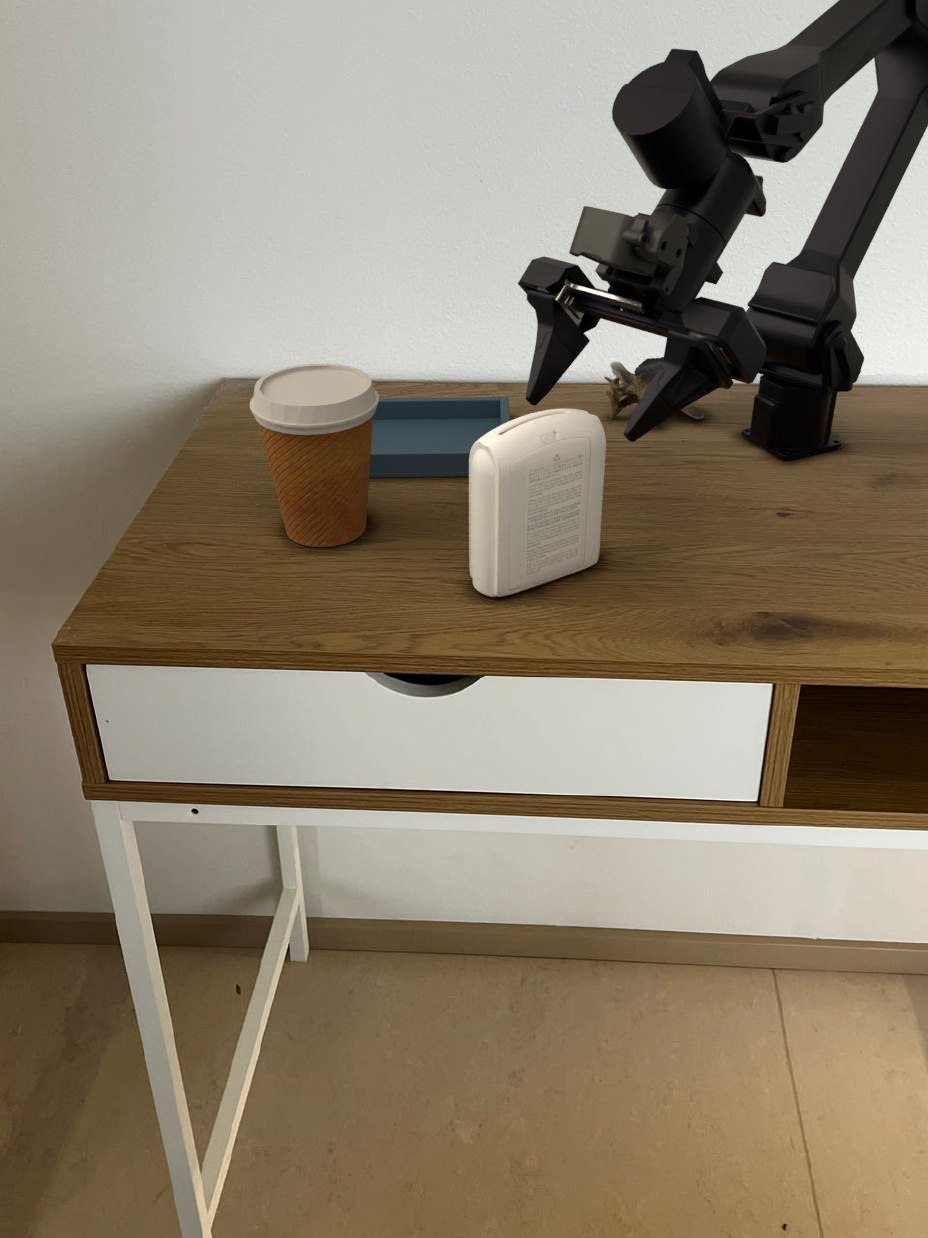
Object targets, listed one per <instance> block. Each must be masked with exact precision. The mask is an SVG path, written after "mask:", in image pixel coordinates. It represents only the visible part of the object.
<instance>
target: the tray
mask: <svg viewBox="0 0 928 1238" xmlns="http://www.w3.org/2000/svg"><path fill="white" fill-rule="evenodd" d="M509 421H511V411H510V399H509V396H475V397H473V396H472V397H470V396H467V397H465V396H464V397H463V396H462V397H394V398H390V397H388V398H380V397H379V403H378V405H377V407H376V411H375V413H374V415H373V427H372V441H371V456H370V470H369V479H371V478H373V479H374V478H441V477H442V478H443V477H444V478H446V477H448V478H449V477H450V478H451V477H452V478H453V477H454V478H455V477H469V456H470V451H471V448H472V446H473V444H474V443H475V442H476V441H477V440H478V439H480V438H481V437H482V436H484V435H485V434H487V433H488V432H490V431H491V430H493V429H495V428H497V427H499V426H500V425H502V424H504V423H507V422H509Z"/></svg>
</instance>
